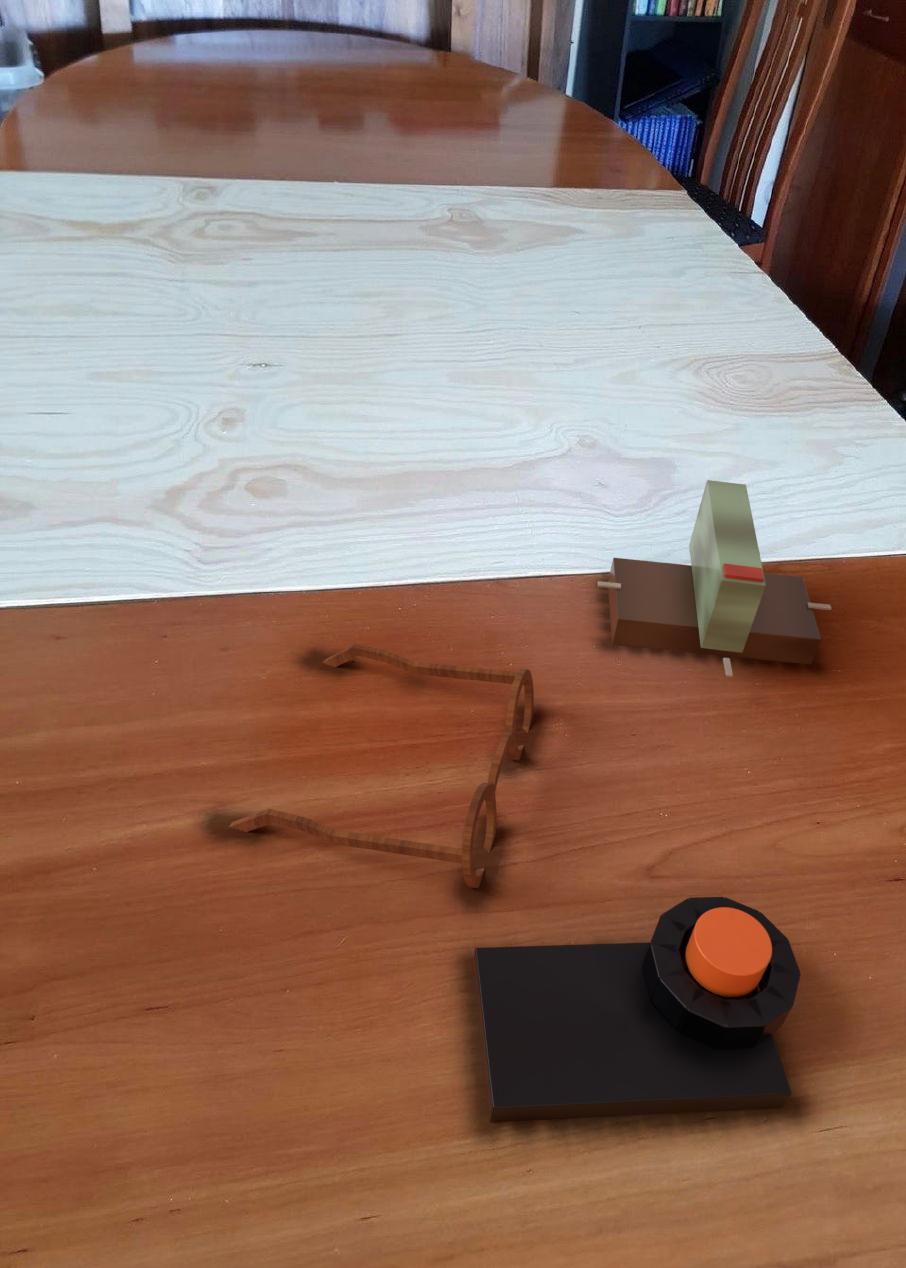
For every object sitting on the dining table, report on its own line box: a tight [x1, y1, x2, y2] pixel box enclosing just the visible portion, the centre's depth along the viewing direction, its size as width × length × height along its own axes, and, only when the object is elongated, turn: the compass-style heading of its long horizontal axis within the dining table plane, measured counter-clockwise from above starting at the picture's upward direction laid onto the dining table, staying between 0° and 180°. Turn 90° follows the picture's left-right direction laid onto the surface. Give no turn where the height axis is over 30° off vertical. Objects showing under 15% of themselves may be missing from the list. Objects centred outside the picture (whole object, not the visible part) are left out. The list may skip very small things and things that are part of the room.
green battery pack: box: [688, 479, 766, 653], centre depth 63 cm, size 10×2×5 cm, turn 174°
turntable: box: [597, 557, 832, 678], centre depth 65 cm, size 14×14×3 cm
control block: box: [472, 896, 802, 1123], centre depth 45 cm, size 13×8×4 cm, turn 95°
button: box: [685, 907, 772, 997], centre depth 44 cm, size 3×3×2 cm
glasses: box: [228, 643, 535, 889], centre depth 54 cm, size 13×13×5 cm
